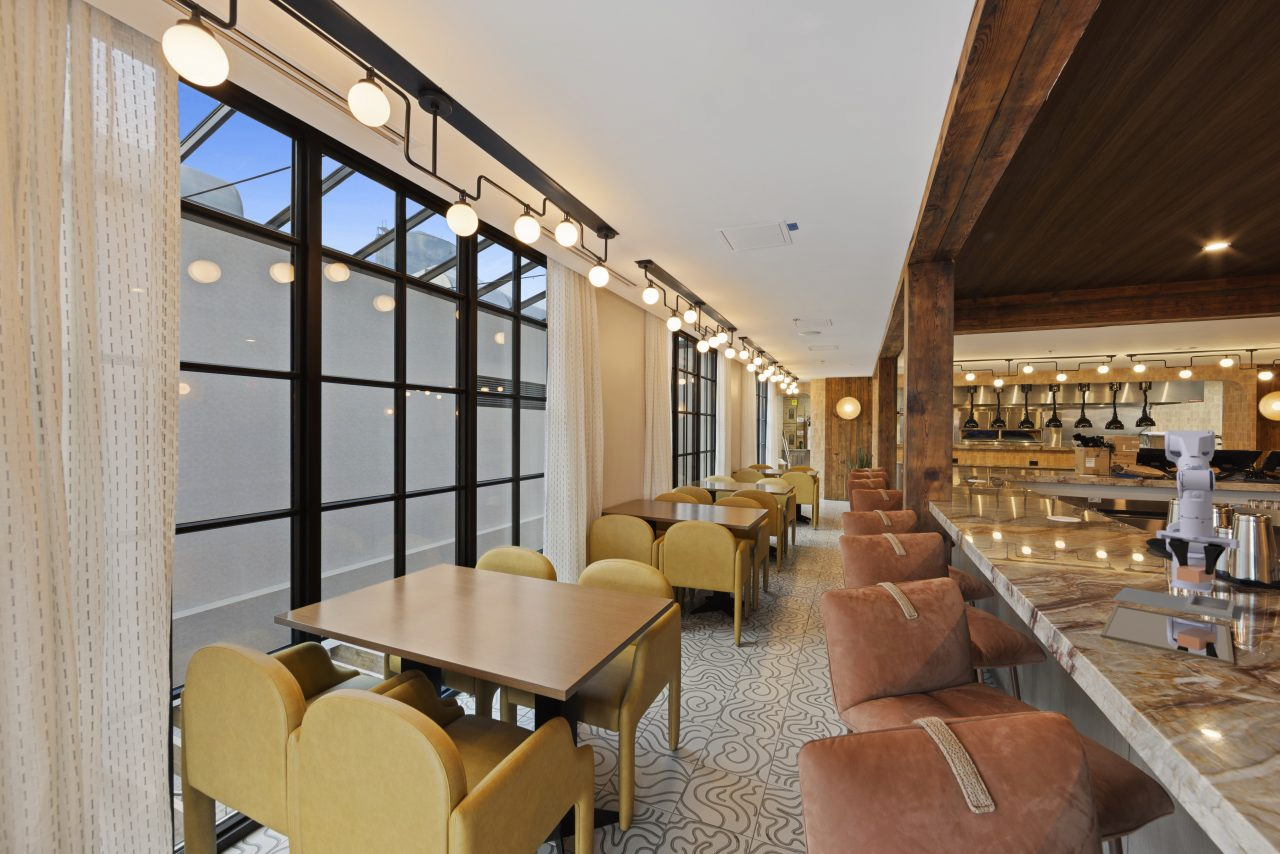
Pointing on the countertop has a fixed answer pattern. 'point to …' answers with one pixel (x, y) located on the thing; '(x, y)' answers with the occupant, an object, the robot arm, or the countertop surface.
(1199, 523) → the robot arm
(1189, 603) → the tray frame
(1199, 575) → the tall peach block
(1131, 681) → the countertop surface
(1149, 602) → the mat
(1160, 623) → the framed mirror
